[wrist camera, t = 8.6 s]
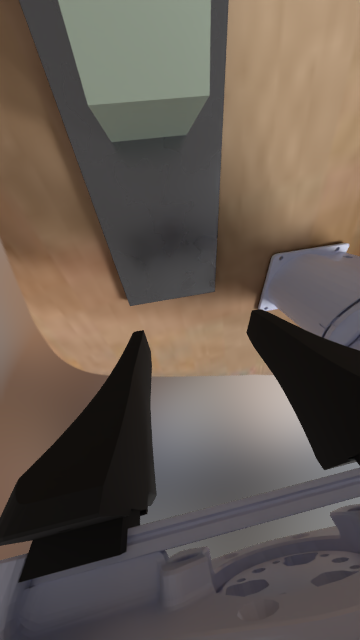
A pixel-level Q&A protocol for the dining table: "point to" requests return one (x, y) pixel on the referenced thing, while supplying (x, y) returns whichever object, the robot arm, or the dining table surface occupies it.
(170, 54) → the sage green cube
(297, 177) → the dining table surface
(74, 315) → the dining table surface
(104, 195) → the base plate
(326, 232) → the dining table surface
